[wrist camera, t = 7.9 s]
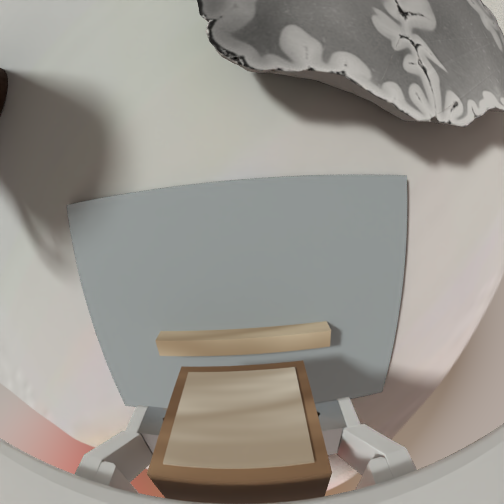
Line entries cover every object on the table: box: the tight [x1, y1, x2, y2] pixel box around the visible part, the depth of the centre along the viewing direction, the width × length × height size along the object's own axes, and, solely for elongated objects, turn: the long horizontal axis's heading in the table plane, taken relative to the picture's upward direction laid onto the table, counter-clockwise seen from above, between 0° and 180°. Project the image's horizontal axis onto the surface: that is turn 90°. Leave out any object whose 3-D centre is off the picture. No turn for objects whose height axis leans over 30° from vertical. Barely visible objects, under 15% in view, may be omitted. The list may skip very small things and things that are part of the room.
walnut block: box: [147, 360, 332, 504], centre depth 9 cm, size 2×6×6 cm, turn 94°
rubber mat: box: [67, 175, 407, 408], centre depth 14 cm, size 14×18×1 cm
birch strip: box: [155, 321, 331, 356], centre depth 14 cm, size 1×9×1 cm, turn 95°
